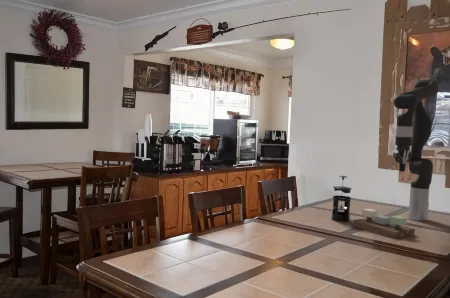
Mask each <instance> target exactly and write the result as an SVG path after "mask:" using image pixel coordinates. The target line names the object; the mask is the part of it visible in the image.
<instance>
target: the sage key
mask: <svg viewBox="0 0 450 298" xmlns="http://www.w3.org/2000/svg"><path fill="white" fill-rule="evenodd" d="M389 217H390V223H393V224H395V229H401V225H402V226H406V225H407V220H408V218H407V217H404V216H401V215H391V216H389Z"/></svg>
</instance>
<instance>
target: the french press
mask: <svg viewBox="0 0 450 298" xmlns="http://www.w3.org/2000/svg"><path fill="white" fill-rule="evenodd" d="M339 178H341V179H342V183H341V185H342V186H341V185H340V186H337V185H336V186H333V188H334V190H333V191H334V192H336V191H338V192H339V191H340V192H341V195H332V199H333V203H332V204H333V205H332V206H333V207H332V212H331V217H330V218H331V221H333V222H334V221H335V222H339V223H347V222H350V221H351V219H350V216H351V214H350V210H351V200H352V198H351V196H348V195H347V196H346V195H343V194H350V193H351V190H352V187H347V186H344V180H345V179H346V178H347V176H346V175H339ZM339 201H340V202H341V203H340V205H339ZM343 202H344V204H343ZM343 205H344V206H343Z"/></svg>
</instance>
